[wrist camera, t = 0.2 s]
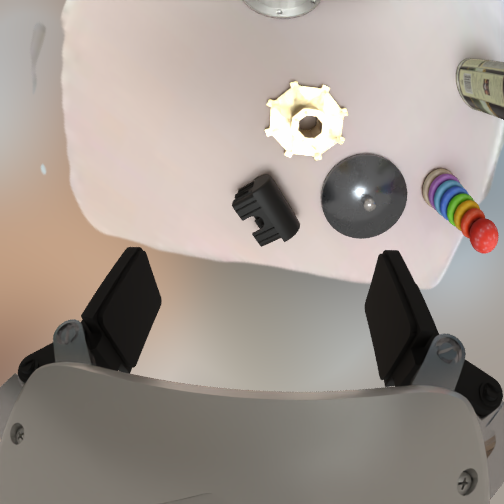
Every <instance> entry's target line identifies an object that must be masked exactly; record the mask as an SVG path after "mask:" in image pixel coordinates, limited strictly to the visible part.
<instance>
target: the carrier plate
mask: <svg viewBox="0 0 504 504" xmlns="http://www.w3.org/2000/svg"><path fill="white" fill-rule="evenodd" d="M406 201H407V188H406V183H405V180H404V178H403V176H402V174H401V172H400V171H399V170H398V169H397V167H396V166H395V165H393V164H392V163H391V162H390V161H388V160H387V159H385V158H383V157H381V156H378V155H374V154H358V155H354V156H350V157H348V158H346V159H344V160H343V161H341V162H339V163H338V164H337V165H336V166H335V167H334V168H333V169H332V170H331V171H330V173H329V174H328V175H327V177H326V179H325V181H324V184H323V187H322V192H321V203H322V208H323V211H324V214H325V217H326V219H327V221H328V222H329V223H330V225H331V226H332V227H333V228H334V229H335V230H337V231H338V232H340V233H341V234H343V235H346V236H349V237H352V238H370V237H374V236H377V235H379V234H382V233H383V232H385V231H387V230H388V229H390V228H391V227H392V226H393V225H394V224H395V223H396V222H397V221H398V219H399V218H400V216H401V215H402V213H403V211H404V208H405V205H406Z"/></svg>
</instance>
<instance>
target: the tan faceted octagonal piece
mask: <svg viewBox="0 0 504 504" xmlns="http://www.w3.org/2000/svg"><path fill="white" fill-rule="evenodd" d="M290 86H291V88H290V89H289V90H287V91H286V92H285V93H283V94H282V95H281V96H280V97H278V98H277V99H276V100H275V101H274V100H272V99H269V101H268V103H267V106H269V107H271V117H270V127H268V128H265V131H266V134H267V136H270V135H273V136H274V137H275V138H276V140H277V141H278V142H279V143H280V144H281V145H282V146H283V147H284V148H285V149H286V150H285V152H284V155H286V156H288V157H290V158H291V156H292V154H299V155H308V156H314V158H315V161H316V160H320V159H322V157H321V154H322V153H323V152H325V151H326V150H327V149H329V148H330V147H332V146H333V145H334V144H336V143H337V142H338V143H339V144H341V145H342V143H343V142H344V140H345V139H344V138H343V137H342V136H341V132H342V124H343V116H347V115H348V113H347V109H346V108H340V107H339V106H338V104H337V103H336V102H335V101H334V99H333V98H332V97H331V96H330V94H329V93H328V91H329V89H330V88H329V87H327V86H325V85H323V84H322V86H321V87H320V88H313V87H305V86H298V83H297V81H295V82H291V83H290ZM306 115H310V116H316V117H317V118H316V125H315V126H314V127H313V128H311V129H310V130H304V129H300V127H299V121H300V120H301V119H302V118H303V117H305V116H306Z"/></svg>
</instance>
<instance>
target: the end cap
mask: <svg viewBox="0 0 504 504" xmlns="http://www.w3.org/2000/svg"><path fill="white" fill-rule="evenodd" d="M232 206H233V208H234V210H235V211H236V213H237V214H238V215H239V217H240V218H241V219H242V221H243V220H245V219H247V218H249V217H251V216H254V217H255V219H256V220H255V222H256V224H257V225H258V227H259V228H260V230H258V231H256V232H254V233H252V235H253V236H254V237H255V239H256V240H257V242H258V243H259V244H260V246H261V247H262V246H264V245H266V244H269V243H271V242H273V241H275V240H277V239H279V238H282V239H283V241H284V242H285V241H287V240H289V239H291V238H292V237H293V236H294V235H295V234H296V233H297V232H298V230H299V228H300V223H299V221H298V219H297V218H296V216H295V214H294V213H293V211H292V209H291V208H290V206H289V204H288V203H287V201H286V200H285V198H284V196H283V195H282V193H281V191H280V190H279V188H278V187H277V185H276V184H275V182H274V180H273V179H272V177H271V176H270V175H263V176H260V177H258V178H256V179H255V181H253V182H252V183H250V184H248V185H246V186H244V187H243V188H241V189H239V191H238V193H237V194H235V200H233V203H232Z"/></svg>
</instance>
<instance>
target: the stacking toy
mask: <svg viewBox="0 0 504 504" xmlns="http://www.w3.org/2000/svg"><path fill="white" fill-rule="evenodd" d="M423 197H424V199H425V201H426V203H427V204H428V205H429V206H431V207H433V208H434V209H435V210H437V212H438V213H439V214H440V215H441V216H443V217H444V218H445V219H446V220H448V221H449V222H450V223H451V224H452V225H453V226H456V227H457V228H458V229H459V230H460V231H462V233H463V235H464V236H465V237H467V238H470V242H471V244H472V246H473V248H474V249H475V250H476V251H478V252H480V253H488V252H491V251H492V250H493V249H494V248H495V246H496V245H497V242H498V231H497V228H496V226H495V224H494V223H493V222H492V221H490V220H489V219H485V215H484V213H483V212H482V211H481V210H480V208H479V206H478V204H477V203H476V202H475V201H474V200H473V198H472V197H471V196H470V195H469V194H468V192H467V191H466V190H465V189H464V188H463V186H462V185H461V184H460V182H459V180H458V179H457V178H456V177H455V176H454V175H453V174H452V173H451V172H450V171H448V170H446V169H437V170H434V171H433V172H431V173H430V174H429V175H428V176H427V178H426V180H425V182H424V185H423Z"/></svg>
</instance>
